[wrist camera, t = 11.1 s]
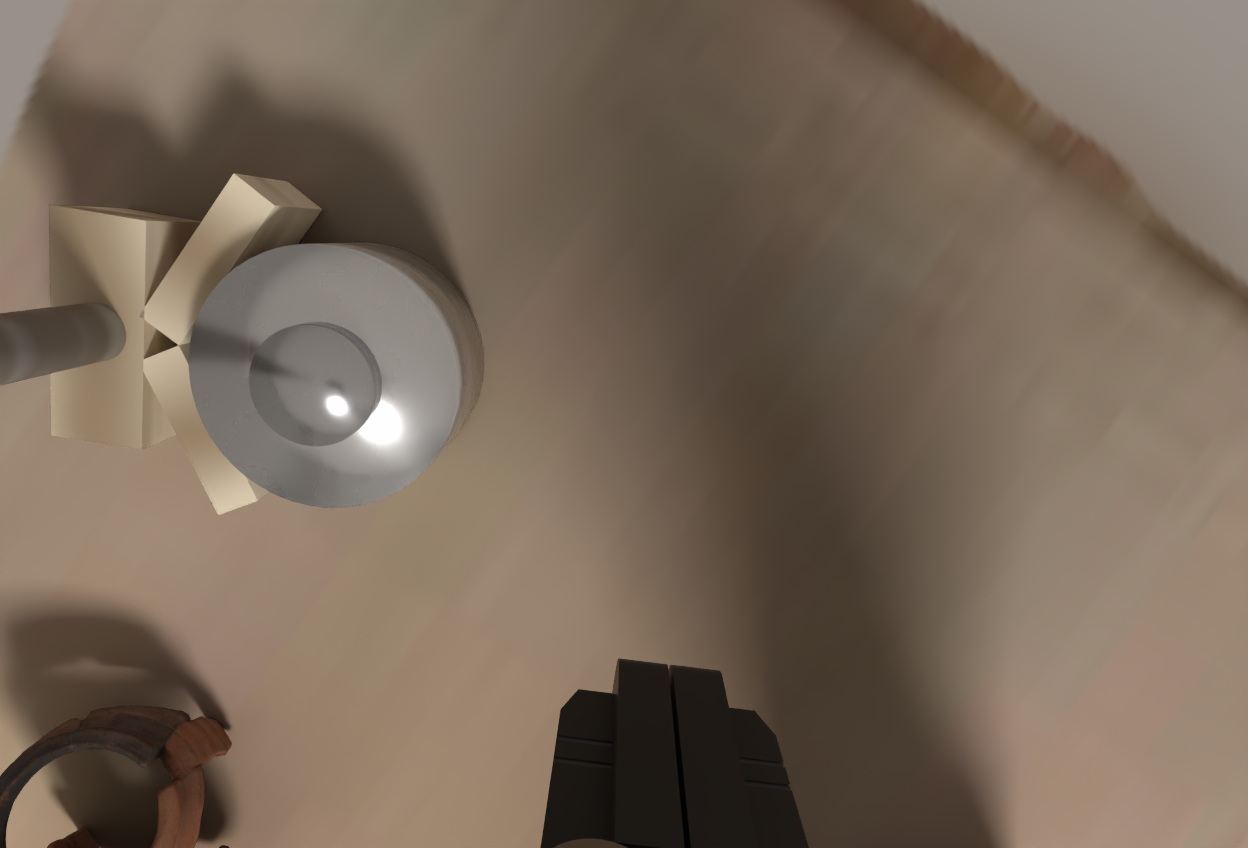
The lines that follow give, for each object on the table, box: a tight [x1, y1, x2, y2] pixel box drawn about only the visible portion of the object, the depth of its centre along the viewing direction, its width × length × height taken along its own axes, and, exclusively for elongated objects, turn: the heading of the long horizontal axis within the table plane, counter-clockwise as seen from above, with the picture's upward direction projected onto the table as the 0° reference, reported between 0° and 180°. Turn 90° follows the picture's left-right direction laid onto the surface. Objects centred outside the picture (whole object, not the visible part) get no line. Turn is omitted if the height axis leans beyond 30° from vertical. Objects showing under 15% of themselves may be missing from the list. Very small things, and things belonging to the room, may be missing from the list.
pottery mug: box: [0, 706, 232, 848], centre depth 33 cm, size 12×10×8 cm
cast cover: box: [189, 243, 484, 508], centre depth 28 cm, size 9×9×6 cm
